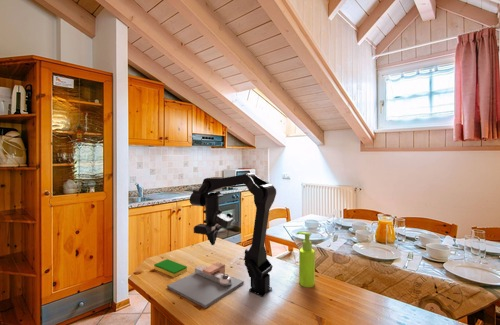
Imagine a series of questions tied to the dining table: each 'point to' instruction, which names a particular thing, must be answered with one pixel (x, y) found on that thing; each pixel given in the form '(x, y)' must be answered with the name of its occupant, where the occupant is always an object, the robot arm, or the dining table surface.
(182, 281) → the base plate
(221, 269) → the block
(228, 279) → the lever
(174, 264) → the dish sponge
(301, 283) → the soap dispenser
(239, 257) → the butter knife
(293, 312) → the dining table surface
